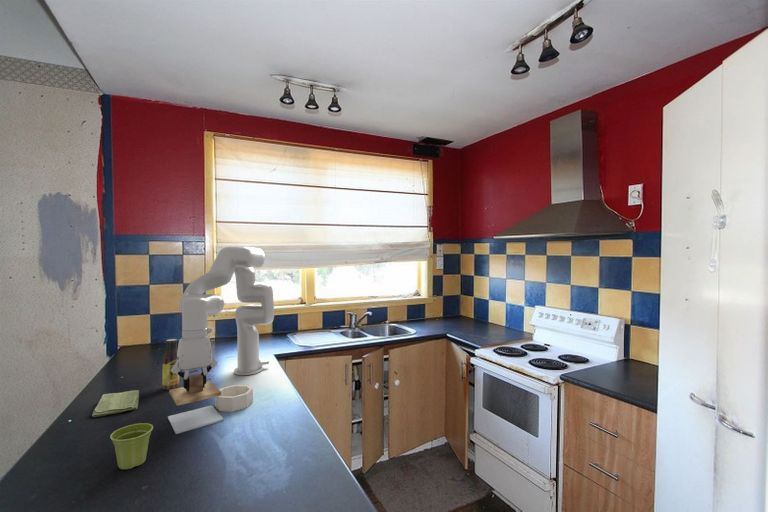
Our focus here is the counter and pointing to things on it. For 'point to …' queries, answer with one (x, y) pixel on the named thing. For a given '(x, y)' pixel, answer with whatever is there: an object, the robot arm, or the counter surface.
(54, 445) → the counter surface
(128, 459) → the plant pot
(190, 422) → the mat
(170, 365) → the sauce bottle
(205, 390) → the lid
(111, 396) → the washcloth
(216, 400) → the bowl
